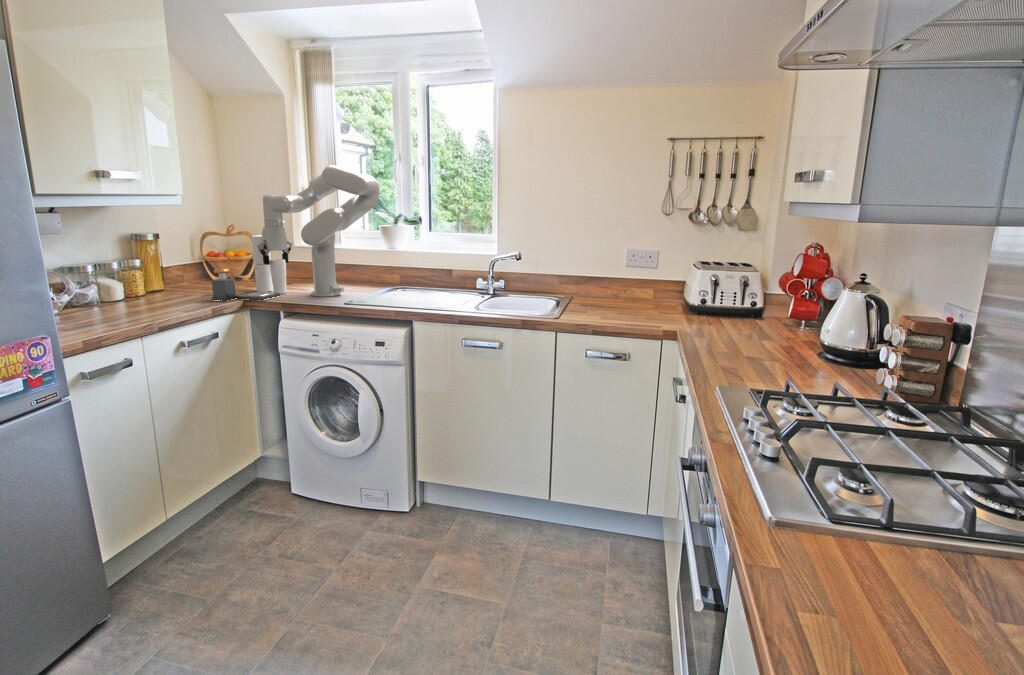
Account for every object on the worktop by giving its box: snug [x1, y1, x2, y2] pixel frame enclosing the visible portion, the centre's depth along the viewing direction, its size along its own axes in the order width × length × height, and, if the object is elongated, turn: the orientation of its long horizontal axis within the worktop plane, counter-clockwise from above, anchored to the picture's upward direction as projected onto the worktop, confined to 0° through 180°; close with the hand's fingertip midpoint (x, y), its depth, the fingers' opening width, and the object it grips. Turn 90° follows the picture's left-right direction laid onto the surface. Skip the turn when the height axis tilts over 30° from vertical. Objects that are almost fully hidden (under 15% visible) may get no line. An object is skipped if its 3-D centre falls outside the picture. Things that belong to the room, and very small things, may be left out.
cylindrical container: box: [250, 234, 274, 292], centre depth 259 cm, size 7×7×25 cm
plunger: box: [213, 268, 231, 280], centre depth 237 cm, size 6×6×8 cm
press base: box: [211, 278, 281, 302], centre depth 242 cm, size 20×18×8 cm
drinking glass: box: [269, 258, 287, 295], centre depth 255 cm, size 7×7×15 cm
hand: (276, 263), depth 253 cm, fingers open, 9 cm apart
